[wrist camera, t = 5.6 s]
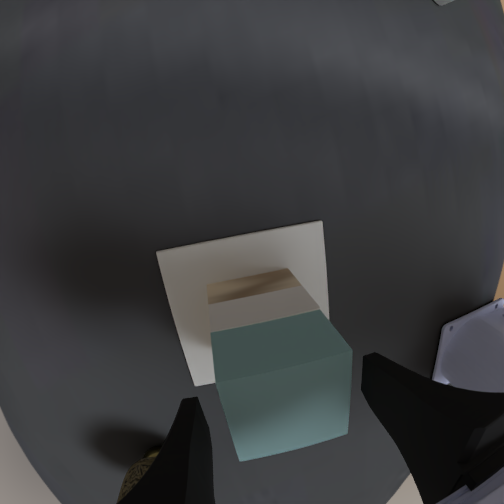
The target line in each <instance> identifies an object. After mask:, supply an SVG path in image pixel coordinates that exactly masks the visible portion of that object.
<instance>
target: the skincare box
mask: <svg viewBox="0 0 504 504" xmlns="http://www.w3.org/2000/svg"><path fill="white" fill-rule="evenodd" d="M434 1H435V2H436V3H437V4H438V5H440V6H442V5H444V4H447V3H449V2H452V1H454V0H434Z"/></svg>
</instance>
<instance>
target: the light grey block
mask: <svg viewBox="0 0 504 504" xmlns="http://www.w3.org/2000/svg"><path fill="white" fill-rule="evenodd" d="M208 306H209V317H210V328H211V332H216V331H222V330H227V329H232V328H237V327H242V326H247V325H252V324H257V323H262V322H266V321H271V320H276V319H280V318H285V317H289V316H294V315H298V314H302V313H306V312H311V311H315V310H319V309H320V310H321V308H320V307H319V305H318V304H317V303H316V302H315V300H314V299H313V298H312V297H311V296H310V294H309V293H308V292H307V291H306V289H305V288H304V287H303V286H302V285H300V286H296V287H291V288H287V289H282V290H277V291H273V292H268V293H263V294H259V295H254V296H249V297H244V298H239V299H234V300H229V301H224V302H219V303H214V304H208Z"/></svg>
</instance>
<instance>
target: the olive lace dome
mask: <svg viewBox="0 0 504 504" xmlns="http://www.w3.org/2000/svg"><path fill="white" fill-rule="evenodd" d="M161 447H162V446H156V447H152V448H150V449H149V450H147V451H146V453H145V454H144V456H143V459H141V460H139V461H137V462H136V463H135V464H133V465H132V466H131V467H130V469H129V470H128V472H127V473H126V475H125V478H124V481H123V483H122V487H121V490H120V493H119V497H118V501H117V503H118V502H119V501H120V500H121V499H122V498H123V497H124V496H125V495H126V494H127V493H128V492H129V491H130V490H131V489H132V488H133V487H134V486H135V485H136V484H137V482H138V481H139V480H140V479H141V478H142V476H143V475H144V474H145V472H146V471H147V470H148V468H149V467H150V465H151V464H152V462H153V461H154V459H155V458H156V456H157V454H158V453H159V451H160V449H161Z"/></svg>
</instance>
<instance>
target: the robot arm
mask: <svg viewBox="0 0 504 504" xmlns="http://www.w3.org/2000/svg"><path fill="white" fill-rule="evenodd" d="M503 304H504V299H502V298H499V299H498V300H495V301H493V302H491V303H489V304H487V305H485V306H483V307H481V308H479V309H477V310H475V311H473V312H471V313H469V314H467V315H465V316H462V317H460V318H458V319H456V320H454V321H451V322H449V323H447V324H445V325H444V326H443V327H442V330H441V336H440V342H439V348H438V353H437V358H436V363H435V368H434V372H433V377H432V380H431V379H429V378H427V377H424V376H422V375H419V374H417V373H415V372H413V371H411V370H409V369H407V368H405V367H403V366H401V365H399V364H397V363H395V362H393V361H391V360H389V359H388V358H386V357H384V356H382V355H380V354H378V353H376V352H374V353H371V354H368V355H365V356H363V368H362V384H361V390H362V392H363V394H364V396H365V399H366V400H367V402H368V404H369V406H370V408H371V409H372V411H373V412H374V414H375V415H376V416H377V418H378V419H379V421H380V422H381V423H382V425H383V426H384V428H385V429H386V430H387V432H388V433H389V435H390V436H391V437H392V439H393V440H394V442H395V443H396V445H397V447H398V448H399V450H400V452H401V454H402V456H403V458H404V460H405V462H406V464H407V466H408V468H409V470H410V472H411V474H412V476H413V478H414V481H415V483H416V485H417V488H418V490H419V493H420V496H421V498H422V501H423V504H504V308H503ZM448 383H451V384H452V385H453V386H454V387H453V386H450V385H446V384H448ZM117 504H215V499H214V488H213V460H212V444H211V437H210V431H209V427H208V424H207V421H206V419H205V416H204V413H203V411H202V408H201V405H200V402H199V400H198V397H192V398H185V399H183V400H182V401H181V404H180V407H179V409H178V412H177V415H176V417H175V420H174V422H173V425H172V427H171V429H170V431H169V434H168V436H167V438H166V440H165V442H164V444H163V445H162V447H161V449H160V451H159V453H158V454H157V456H156V458H155V459H154V461H153V462H152V464H151V465H150V467H149V468H148V470H147V471H146V472H145V474H144V475H143V476H142V478H141V479H140V480H139V481H138V482H137V484H136V485H135V486H134V487H133V488H132V489H131V490H130V491H129V492H128V493H127V494H126V495H125V496H124V497H123V498H122V499H121V500H120V501H119V502H118V503H117Z"/></svg>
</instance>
